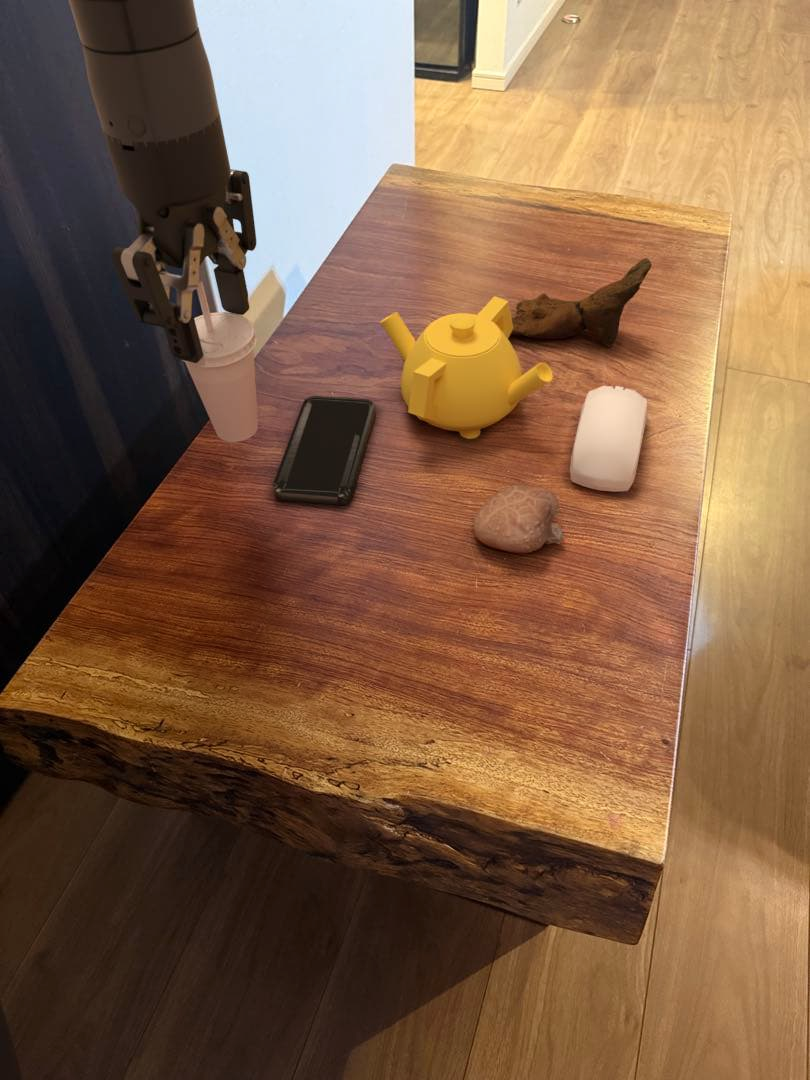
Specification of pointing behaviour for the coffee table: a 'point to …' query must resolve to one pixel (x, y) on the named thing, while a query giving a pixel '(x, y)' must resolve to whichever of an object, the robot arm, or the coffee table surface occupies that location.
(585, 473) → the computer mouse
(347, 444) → the phone
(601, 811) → the coffee table surface
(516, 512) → the mushroom
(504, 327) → the teapot
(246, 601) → the coffee table surface
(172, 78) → the robot arm
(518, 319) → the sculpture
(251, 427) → the smoothie
